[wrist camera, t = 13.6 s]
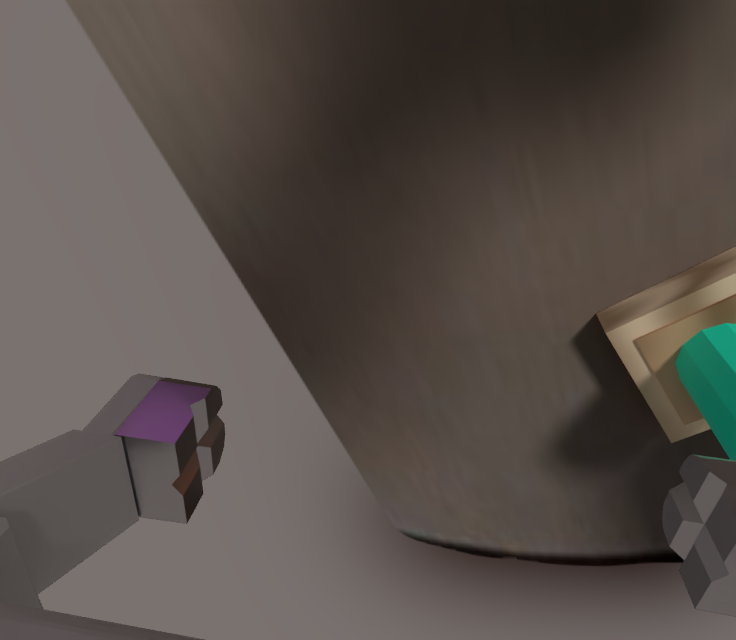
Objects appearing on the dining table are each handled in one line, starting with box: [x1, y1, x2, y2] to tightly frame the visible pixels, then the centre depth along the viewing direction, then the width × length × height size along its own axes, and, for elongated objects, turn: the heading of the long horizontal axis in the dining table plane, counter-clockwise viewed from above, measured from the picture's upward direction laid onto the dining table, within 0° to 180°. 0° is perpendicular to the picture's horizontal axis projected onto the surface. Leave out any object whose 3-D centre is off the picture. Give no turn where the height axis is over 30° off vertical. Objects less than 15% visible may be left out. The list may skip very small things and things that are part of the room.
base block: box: [596, 246, 736, 443], centre depth 40 cm, size 12×12×3 cm
